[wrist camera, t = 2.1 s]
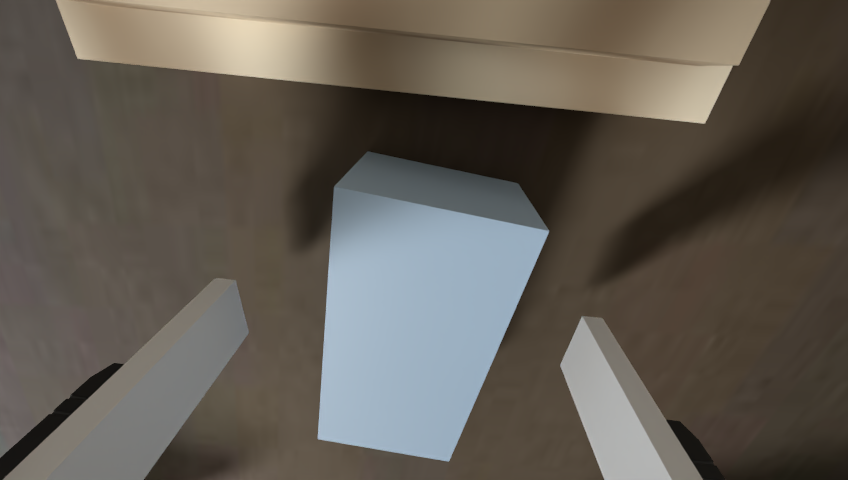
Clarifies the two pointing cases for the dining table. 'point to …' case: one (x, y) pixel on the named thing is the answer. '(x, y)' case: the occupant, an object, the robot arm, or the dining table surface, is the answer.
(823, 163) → the dining table surface
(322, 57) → the slot holder
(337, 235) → the blue block
